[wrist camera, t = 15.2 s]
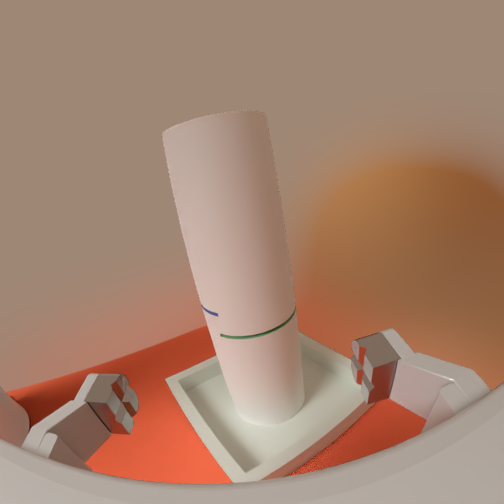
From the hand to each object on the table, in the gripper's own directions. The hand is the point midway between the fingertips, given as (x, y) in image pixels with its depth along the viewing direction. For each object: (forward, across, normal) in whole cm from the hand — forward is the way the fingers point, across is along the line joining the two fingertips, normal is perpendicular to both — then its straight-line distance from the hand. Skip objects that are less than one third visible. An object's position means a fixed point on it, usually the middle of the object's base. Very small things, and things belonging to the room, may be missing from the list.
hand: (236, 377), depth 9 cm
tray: (+12, 0, +16) cm, 20 cm away
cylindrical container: (+12, 0, +16) cm, 20 cm away
